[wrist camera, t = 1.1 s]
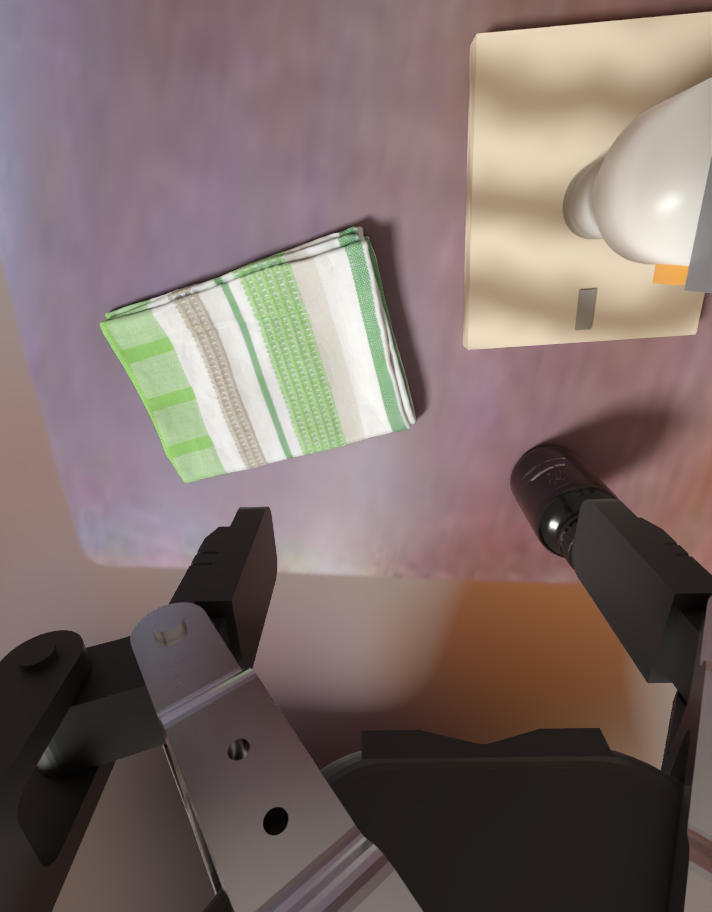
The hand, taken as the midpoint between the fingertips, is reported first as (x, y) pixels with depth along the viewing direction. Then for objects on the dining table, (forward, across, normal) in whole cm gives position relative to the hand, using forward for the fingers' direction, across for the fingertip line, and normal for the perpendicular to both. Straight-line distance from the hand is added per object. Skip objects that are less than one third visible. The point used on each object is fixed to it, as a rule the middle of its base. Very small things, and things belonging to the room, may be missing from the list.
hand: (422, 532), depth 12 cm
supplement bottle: (+30, -15, +14) cm, 36 cm away
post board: (+30, -16, -9) cm, 35 cm away
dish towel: (+30, +10, +2) cm, 32 cm away
